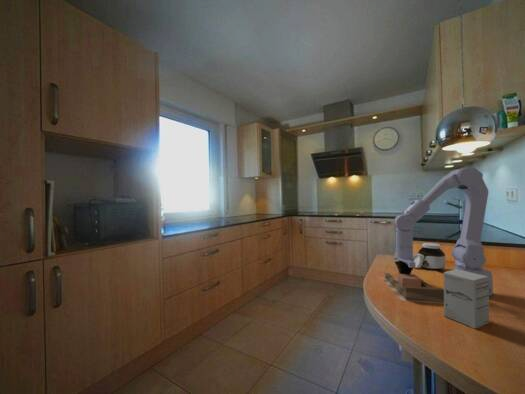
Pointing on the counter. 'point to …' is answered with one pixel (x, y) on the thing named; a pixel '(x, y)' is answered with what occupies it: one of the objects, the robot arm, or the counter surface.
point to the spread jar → (430, 257)
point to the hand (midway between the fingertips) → (404, 281)
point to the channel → (415, 291)
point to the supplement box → (466, 297)
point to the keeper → (409, 280)
